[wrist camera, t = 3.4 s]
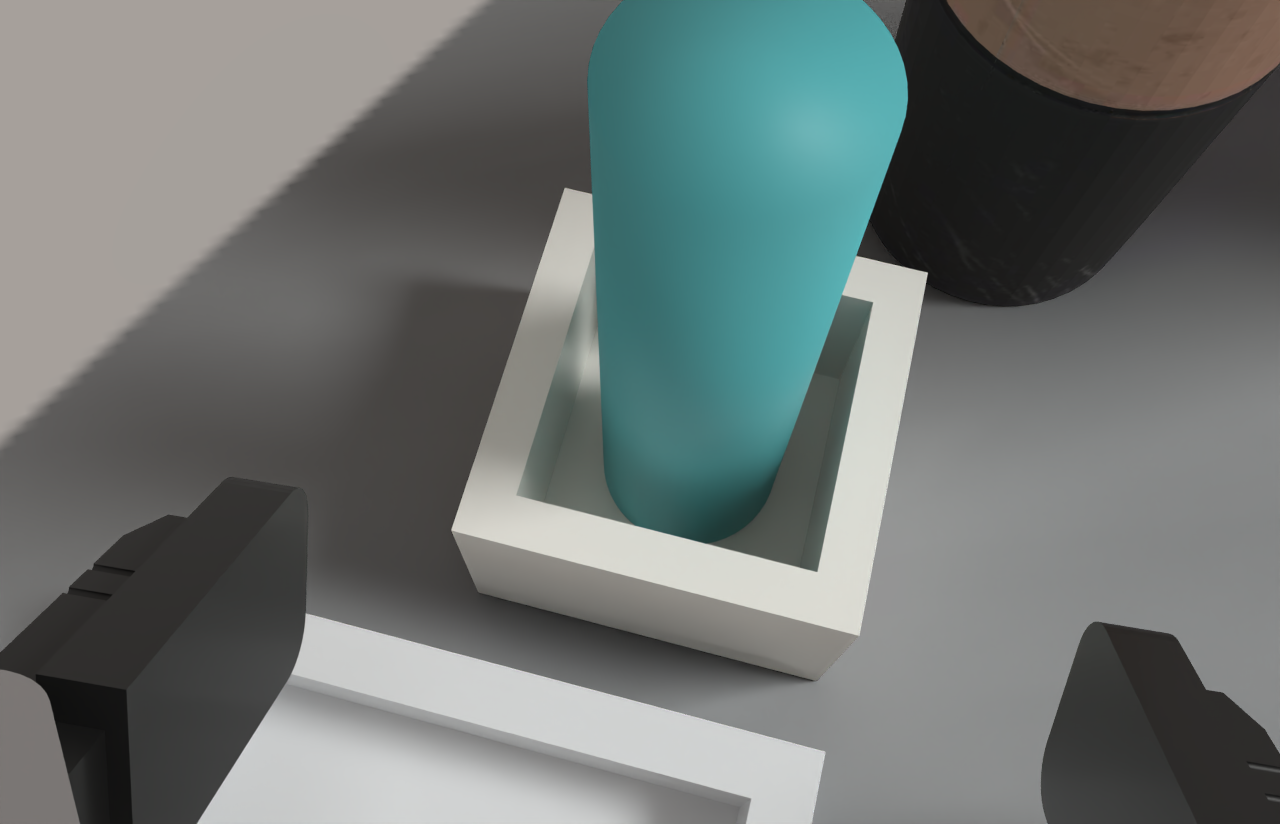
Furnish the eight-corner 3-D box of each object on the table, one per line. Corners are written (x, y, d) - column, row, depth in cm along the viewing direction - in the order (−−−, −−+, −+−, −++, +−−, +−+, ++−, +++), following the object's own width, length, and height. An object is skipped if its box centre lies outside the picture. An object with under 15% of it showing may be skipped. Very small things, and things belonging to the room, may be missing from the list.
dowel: (628, 366, 29) (633, -71, 16) (791, 406, 28) (932, -8, 15) (583, 520, 27) (548, 177, 14) (754, 564, 27) (876, 253, 14)
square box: (572, 295, 31) (565, 187, 26) (879, 369, 30) (927, 272, 25) (478, 592, 28) (451, 530, 23) (817, 681, 27) (859, 636, 22)
